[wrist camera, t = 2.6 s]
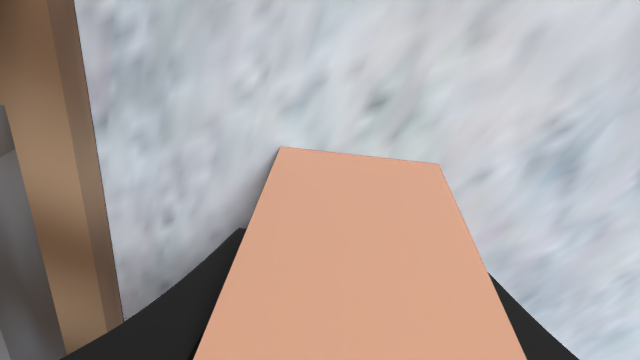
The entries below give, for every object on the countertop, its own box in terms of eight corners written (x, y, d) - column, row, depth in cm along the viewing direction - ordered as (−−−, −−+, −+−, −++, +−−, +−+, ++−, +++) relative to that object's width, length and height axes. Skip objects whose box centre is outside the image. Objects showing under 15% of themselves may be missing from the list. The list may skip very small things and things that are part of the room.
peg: (409, 287, 14) (472, 640, 6) (274, 272, 14) (188, 600, 7) (438, 164, 12) (576, 471, 4) (280, 146, 12) (168, 420, 5)
